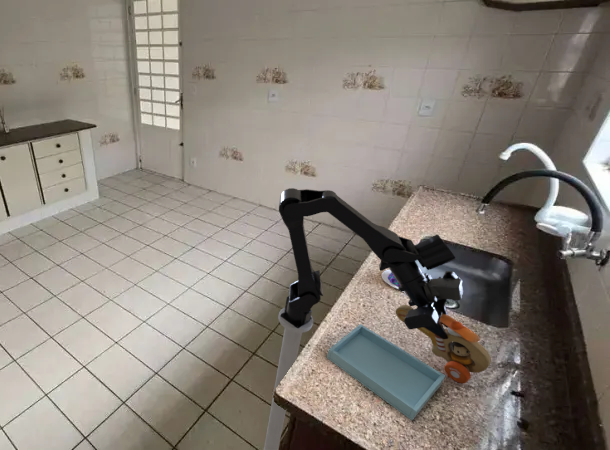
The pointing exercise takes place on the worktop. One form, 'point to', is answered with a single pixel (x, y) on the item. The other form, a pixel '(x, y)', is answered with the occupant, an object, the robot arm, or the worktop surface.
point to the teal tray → (386, 370)
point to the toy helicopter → (455, 347)
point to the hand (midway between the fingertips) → (447, 333)
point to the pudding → (390, 278)
